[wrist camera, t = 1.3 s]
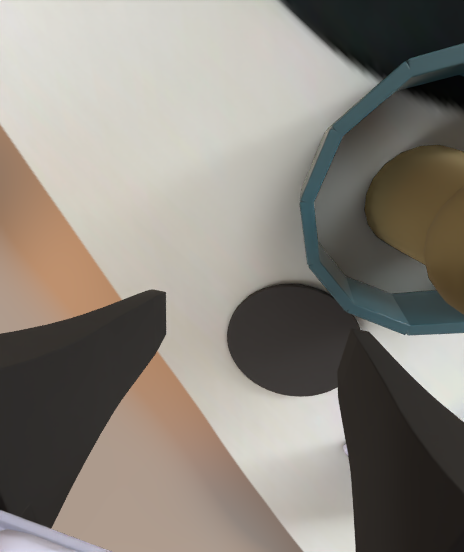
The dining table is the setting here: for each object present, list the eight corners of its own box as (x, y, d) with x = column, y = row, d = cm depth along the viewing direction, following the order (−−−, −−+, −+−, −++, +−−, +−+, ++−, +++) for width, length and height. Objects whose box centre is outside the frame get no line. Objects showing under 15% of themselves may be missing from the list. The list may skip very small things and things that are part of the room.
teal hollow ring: (614, 215, 15) (708, 236, 12) (379, 332, 21) (393, 370, 18) (484, -11, 13) (550, -69, 10) (260, 188, 19) (250, 197, 15)
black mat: (390, 360, 22) (392, 363, 21) (280, 409, 26) (280, 412, 26) (305, 256, 20) (305, 258, 20) (203, 327, 25) (201, 330, 24)
